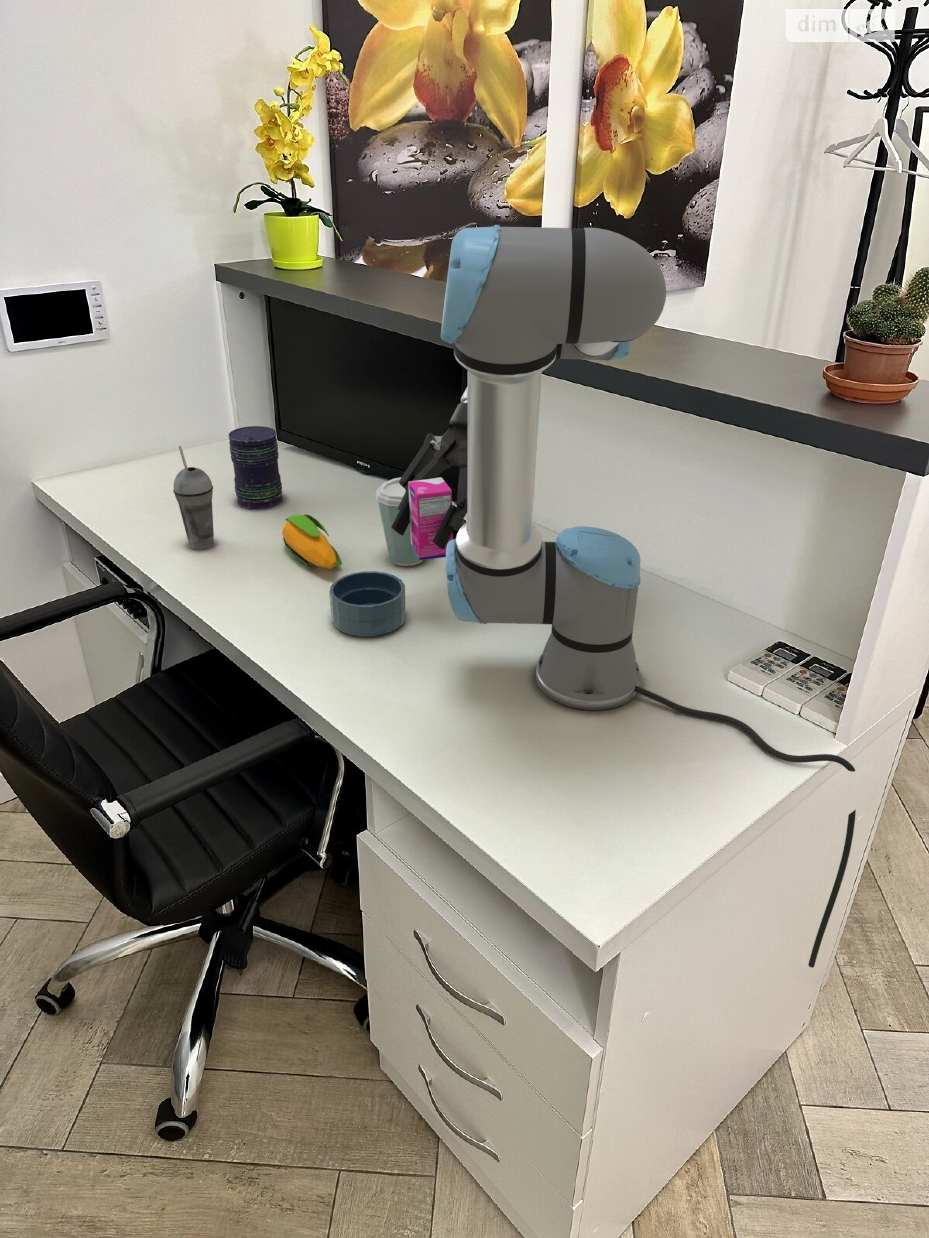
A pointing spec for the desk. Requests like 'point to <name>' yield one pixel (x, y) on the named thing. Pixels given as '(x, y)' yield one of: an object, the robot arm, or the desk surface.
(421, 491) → the supplement box
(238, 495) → the storage jar
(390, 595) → the bowl
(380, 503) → the disposable coffee cup
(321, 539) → the corn
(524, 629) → the desk surface
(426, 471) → the robot arm
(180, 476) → the beverage cup
